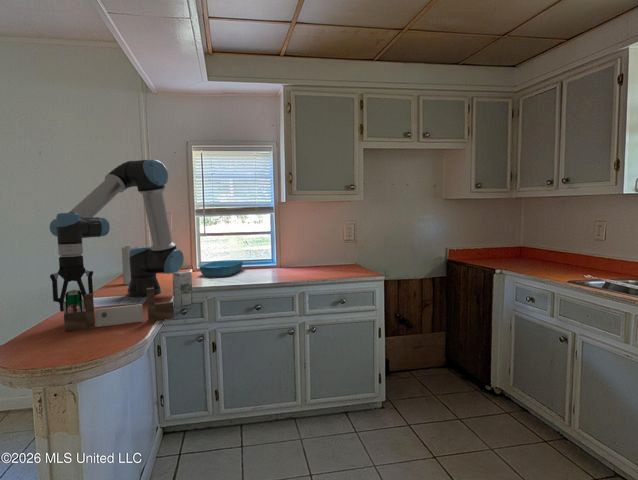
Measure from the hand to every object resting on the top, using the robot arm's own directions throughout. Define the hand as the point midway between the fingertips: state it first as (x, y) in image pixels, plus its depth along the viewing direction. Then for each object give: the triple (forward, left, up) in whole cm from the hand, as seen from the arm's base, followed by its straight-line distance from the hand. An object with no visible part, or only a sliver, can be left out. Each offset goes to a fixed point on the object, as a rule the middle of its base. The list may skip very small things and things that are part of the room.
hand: (75, 318), depth 147 cm
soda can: (0, 0, -2) cm, 2 cm away
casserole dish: (-90, +73, -2) cm, 116 cm away
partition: (+10, +16, -2) cm, 19 cm away
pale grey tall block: (-80, +19, -2) cm, 82 cm away
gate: (+11, +15, -1) cm, 18 cm away
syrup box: (-10, +39, -2) cm, 40 cm away
